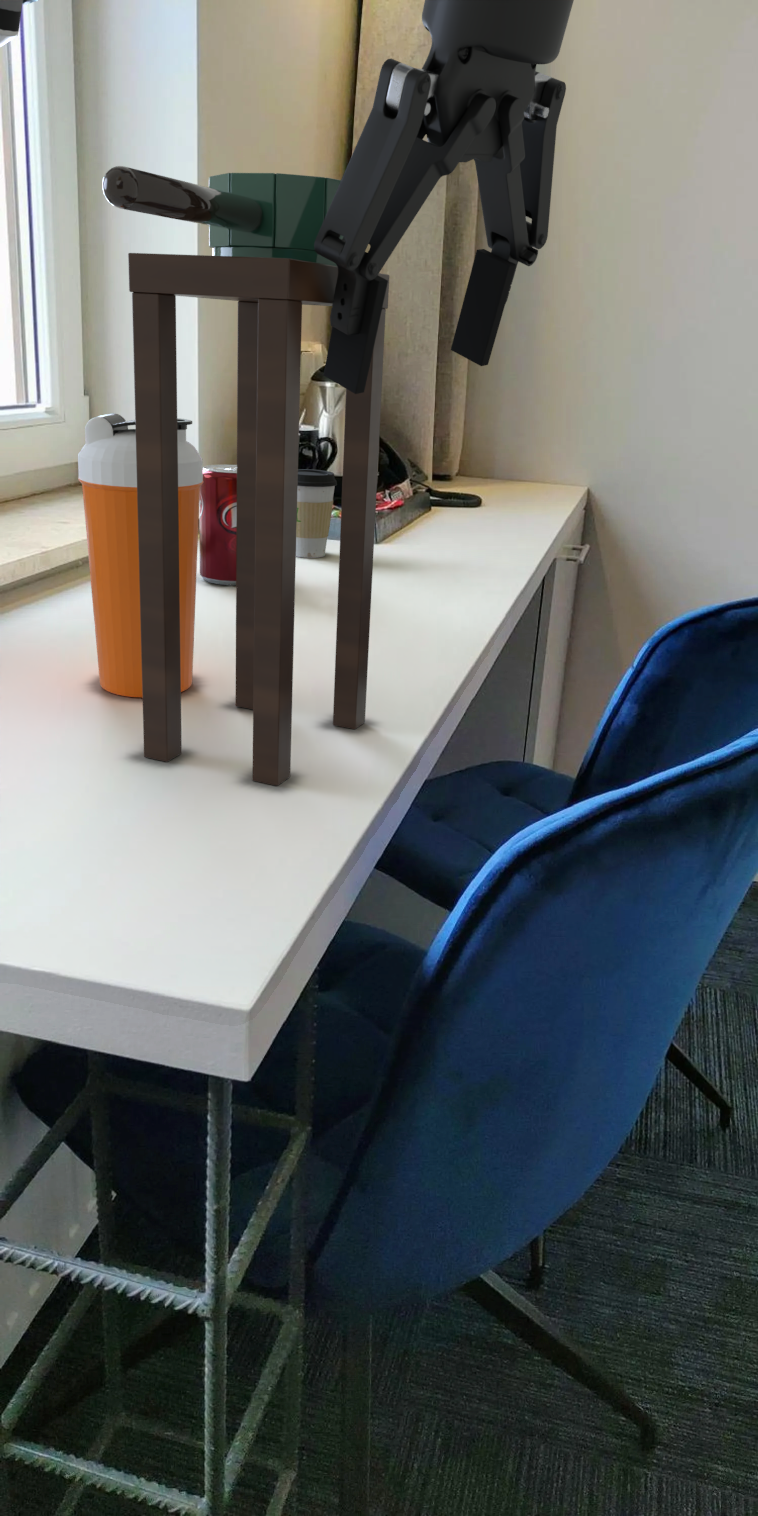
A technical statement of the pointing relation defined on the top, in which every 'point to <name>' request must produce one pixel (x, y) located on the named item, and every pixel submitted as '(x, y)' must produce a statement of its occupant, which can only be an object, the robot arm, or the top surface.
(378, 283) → the robot arm
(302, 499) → the coffee cup
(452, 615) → the top surface
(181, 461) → the shaker bottle
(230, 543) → the soda can
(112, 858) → the top surface
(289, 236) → the green faceted container
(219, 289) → the tall wooden stool
